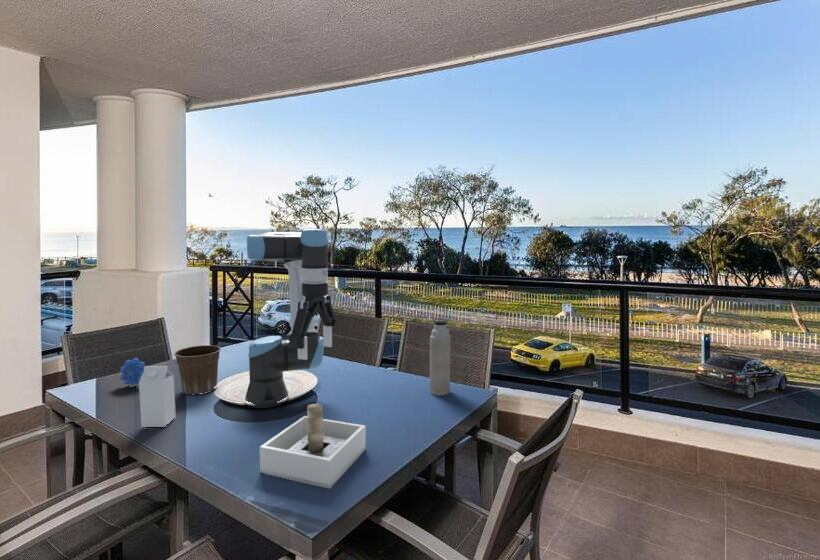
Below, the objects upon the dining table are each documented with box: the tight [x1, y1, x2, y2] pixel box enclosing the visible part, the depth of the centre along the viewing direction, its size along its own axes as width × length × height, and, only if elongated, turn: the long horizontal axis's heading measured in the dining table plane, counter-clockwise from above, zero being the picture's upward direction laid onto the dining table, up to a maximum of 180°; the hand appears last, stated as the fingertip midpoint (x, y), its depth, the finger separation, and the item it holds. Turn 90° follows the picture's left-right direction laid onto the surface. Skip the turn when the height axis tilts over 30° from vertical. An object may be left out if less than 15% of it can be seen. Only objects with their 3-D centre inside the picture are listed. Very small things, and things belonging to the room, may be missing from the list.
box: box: [259, 415, 367, 490], centre depth 111 cm, size 20×20×7 cm
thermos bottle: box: [429, 320, 452, 396], centre depth 162 cm, size 8×8×28 cm
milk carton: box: [138, 365, 176, 428], centre depth 133 cm, size 7×7×19 cm
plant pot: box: [174, 344, 222, 395], centre depth 164 cm, size 16×16×16 cm
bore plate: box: [288, 434, 346, 458], centre depth 112 cm, size 12×12×3 cm
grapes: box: [119, 357, 146, 386], centre depth 168 cm, size 12×7×12 cm, turn 82°
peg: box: [306, 403, 324, 453], centre depth 111 cm, size 4×4×14 cm
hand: (315, 352), depth 124 cm, fingers open, 13 cm apart
